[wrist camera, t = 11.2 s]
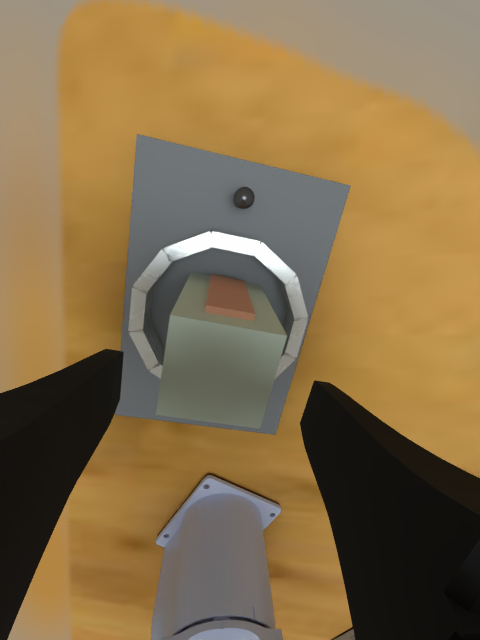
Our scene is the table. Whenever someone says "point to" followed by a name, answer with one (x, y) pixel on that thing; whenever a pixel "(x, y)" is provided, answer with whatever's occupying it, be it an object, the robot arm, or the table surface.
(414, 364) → the table surface
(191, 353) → the pale green rectangular block
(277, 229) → the base board
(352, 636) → the coffee box
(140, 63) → the table surface
